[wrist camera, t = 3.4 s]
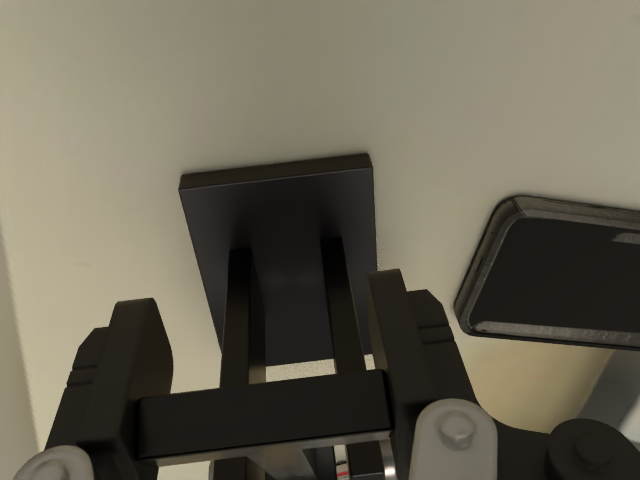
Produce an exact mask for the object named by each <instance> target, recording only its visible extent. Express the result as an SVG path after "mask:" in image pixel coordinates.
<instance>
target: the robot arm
mask: <svg viewBox="0 0 640 480" xmlns="http://www.w3.org/2000/svg"><path fill="white" fill-rule="evenodd" d="M366 290H367V307H368V324H369V334H370V342H371V348H372V354H373V359H374V364H375V369H384V370H385V372H386V375H387V382H388V388H389V394H390V400H391V407H392V413H393V419H394V430H393V432H392V434H391V437H390V443H391V448H392V453H393V458H394V463H395V468H396V473H397V478H398V480H640V452H639V451H638V450H637V449H636V448H635V446H633V444H632V443H631V442H630V441H629V440H628V439H627V438H626V437H625V436H624V435H623V434H622V433H620V432H619V431H617V430H616V429H615V428H613V427H611V426H609V425H607V424H604V423H602V422H599V421H596V420H592V419H580V418H578V419H571V420H567V421H565V422H563V423H561V424H559V425H558V426H556V427H555V428H554V430H553V431H552V432H551V434H546V433H540V432H534V431H528V430H522V429H517V428H513V427H510V426H507V425H505V424H503V423H501V422H499V421H497V420H496V419H494V418H492V417H491V416H490V415H489V414H488V413H487V412H486V411H485V410H484V409H483V408H482V407H481V406H480V404H479V403H478V401H477V399H476V397H475V394H474V391H473V389H472V386H471V383H470V380H469V377H468V375H467V372H466V369H465V366H464V364H463V361H462V358H461V355H460V352H459V350H458V347H457V344H456V342H455V341H454V336H453V333H452V330H451V327H450V326H449V322H448V319H447V316H446V314H445V311H444V308H443V305H442V304H441V303H440V302H439V301H438V300H437V299H436V298H435V297H434V296H433V295H432V294H431V293H430V292H429V291H428V290H427V289H425V290H416V291H408V292H407V291H406V288H405V284H404V281H403V277H402V274H401V271H400V269H392V270H384V271H375V272H367V273H366ZM172 378H173V356H172V350H171V346H170V343H169V340H168V337H167V334H166V331H165V328H164V325H163V322H162V319H161V316H160V313H159V310H158V307H157V304H156V302H155V300H154V299H153V298H144V299H136V300H127V301H119V302H117V303H116V304H115V307H114V310H113V313H112V317H111V320H110V324H109V327H102V328H94V330H93V331H92V332H91V333H90V334H89V336H88V337H87V338H86V339H85V340H84V342H83V343H82V344H81V345H80V346H79V348H78V351H77V354H76V357H75V360H74V363H73V366H72V371H71V372H70V375H69V378H68V381H67V388H65V390H64V393H63V396H62V399H61V402H60V405H59V408H58V411H57V414H56V417H55V420H54V423H53V426H52V429H51V431H50V434H49V437H48V440H47V443H46V446H45V449H44V451H42V452H40V453H39V454H37V455H35V456H34V457H32V458H31V459H30V460H29V461H27V462H26V463H25V464H24V465H23V466H22V467H21V469H20V470H19V471H18V472H17V473H16V475H15V476H14V478H13V480H157V475H158V469H159V467H154V466H151V465H148V464H145V463H142V462H139V461H137V460H136V457H135V446H136V403H137V400H138V399H139V398H141V397H148V396H156V395H165V394H170V391H171V385H172Z"/></svg>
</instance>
